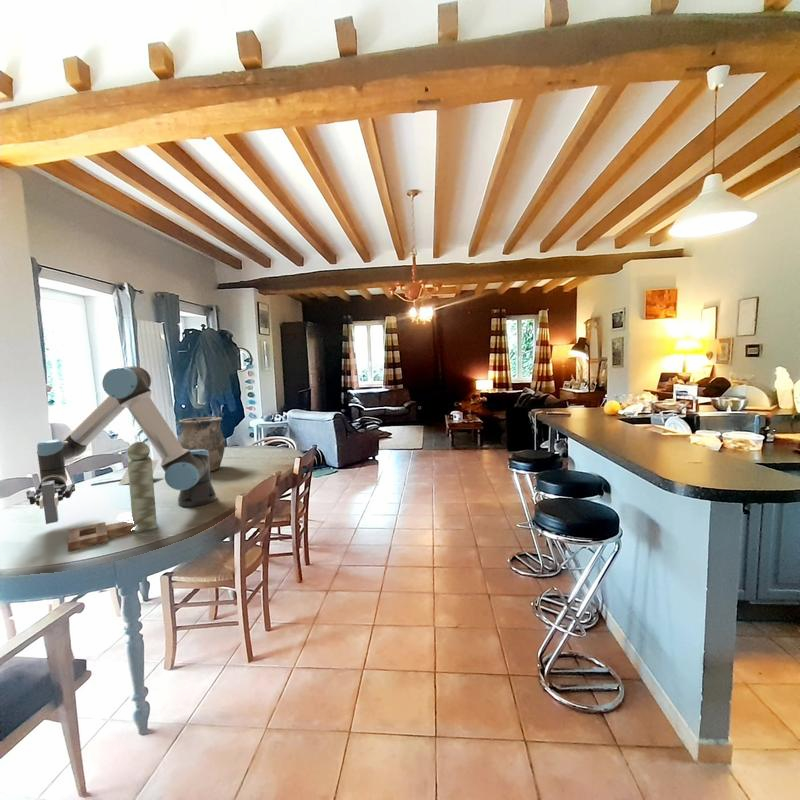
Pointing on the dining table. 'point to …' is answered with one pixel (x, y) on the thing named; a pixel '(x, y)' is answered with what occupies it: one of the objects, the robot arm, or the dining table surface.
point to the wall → (126, 476)
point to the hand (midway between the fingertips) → (48, 503)
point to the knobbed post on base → (140, 504)
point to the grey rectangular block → (49, 502)
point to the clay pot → (204, 438)
